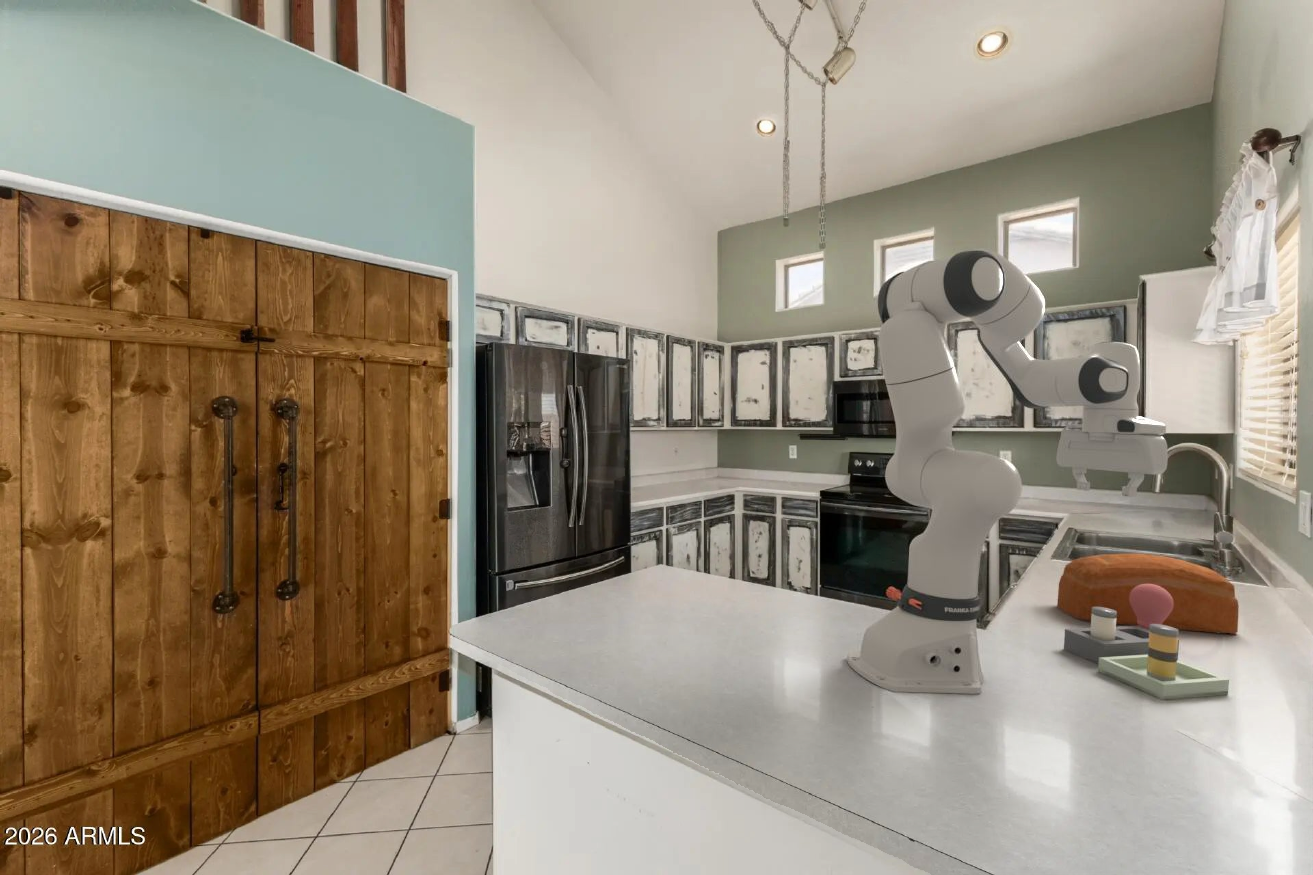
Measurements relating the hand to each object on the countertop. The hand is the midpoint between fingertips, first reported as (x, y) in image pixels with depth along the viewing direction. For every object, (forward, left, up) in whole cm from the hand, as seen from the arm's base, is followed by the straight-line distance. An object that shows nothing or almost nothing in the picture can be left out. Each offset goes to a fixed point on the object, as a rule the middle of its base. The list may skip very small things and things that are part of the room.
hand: (1105, 493), depth 118 cm
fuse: (-4, -4, -31) cm, 32 cm away
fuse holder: (0, -4, -31) cm, 31 cm away
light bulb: (+15, +1, -31) cm, 35 cm away
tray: (-5, -16, -31) cm, 35 cm away
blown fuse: (-5, -16, -30) cm, 35 cm away
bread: (+29, +13, -32) cm, 45 cm away
